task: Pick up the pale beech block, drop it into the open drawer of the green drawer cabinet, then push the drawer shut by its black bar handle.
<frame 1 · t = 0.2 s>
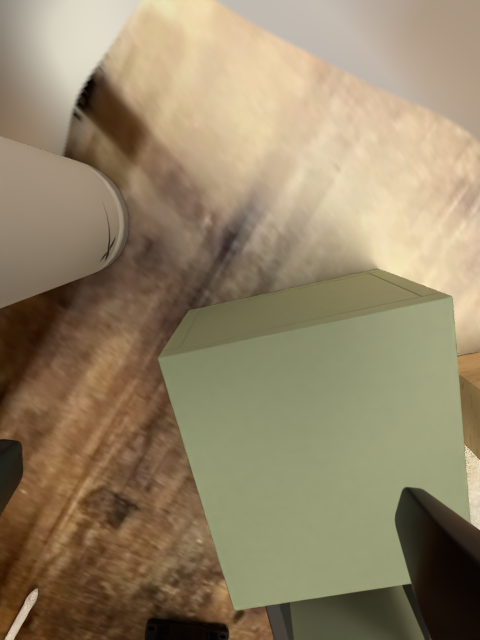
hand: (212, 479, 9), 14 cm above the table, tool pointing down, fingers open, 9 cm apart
travel mug: (80, 218, 21), on the table
green drawer cabinet: (302, 391, 24), on the table
cabinet drawer: (345, 590, 23), point 4 cm above the table, slide at 8.0 cm
beech block: (478, 385, 23), on the table
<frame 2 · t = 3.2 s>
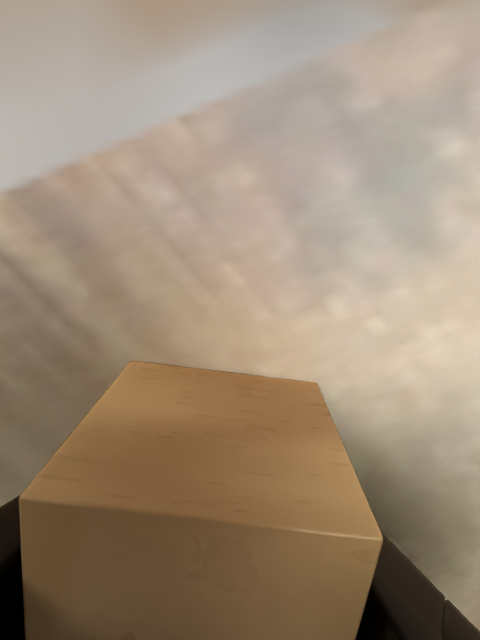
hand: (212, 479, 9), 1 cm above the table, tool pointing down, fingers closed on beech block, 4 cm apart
beech block: (214, 452, 10), on the table, touching gripper
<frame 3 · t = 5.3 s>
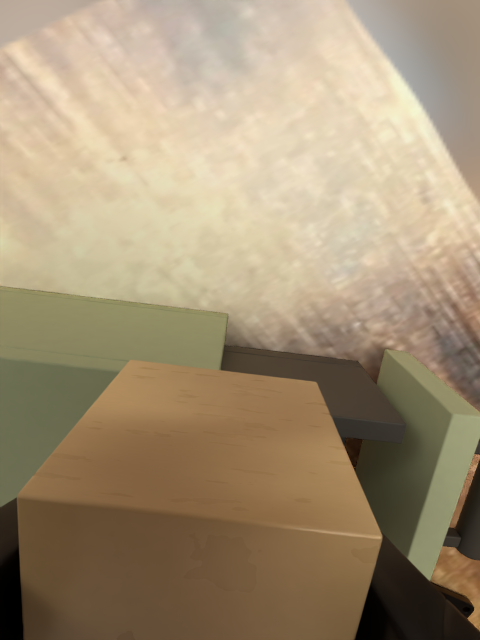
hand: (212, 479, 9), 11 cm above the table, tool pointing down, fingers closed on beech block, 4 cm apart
green drawer cabinet: (94, 398, 20), on the table
cabinet drawer: (319, 471, 17), point 4 cm above the table, slide at 8.0 cm
beech block: (214, 451, 10), point 10 cm above the table, touching gripper
when the fingers open (6 cm above the table, at t = 7.7 s): beech block drops 3 cm, resting on cabinet drawer.
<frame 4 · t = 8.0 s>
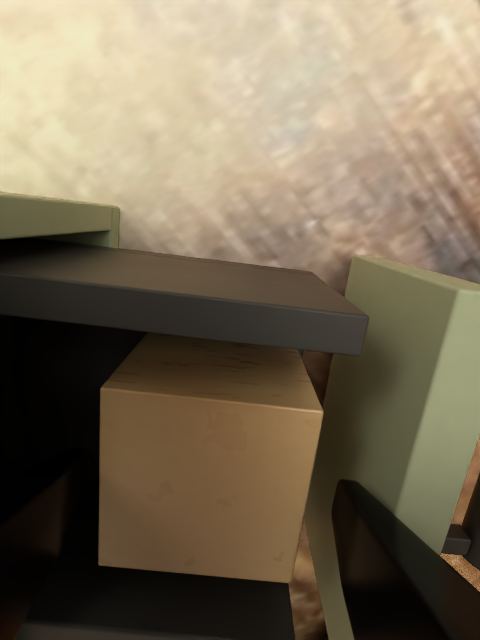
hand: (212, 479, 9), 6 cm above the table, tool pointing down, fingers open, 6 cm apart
cabinet drawer: (244, 433, 11), point 4 cm above the table, slide at 8.1 cm, touching beech block, gripper
beech block: (217, 396, 13), point 2 cm above the table, touching cabinet drawer
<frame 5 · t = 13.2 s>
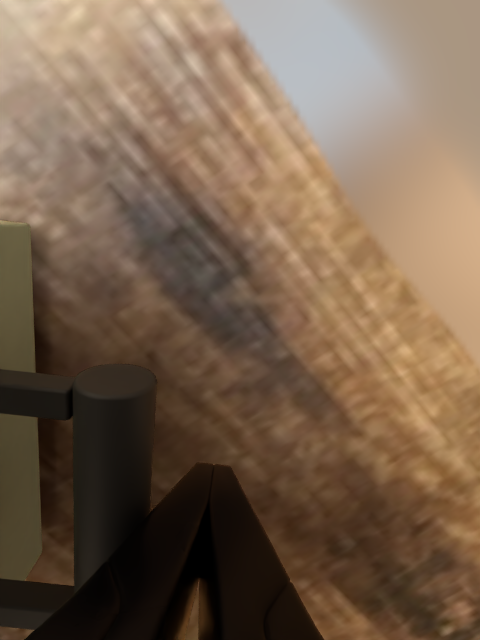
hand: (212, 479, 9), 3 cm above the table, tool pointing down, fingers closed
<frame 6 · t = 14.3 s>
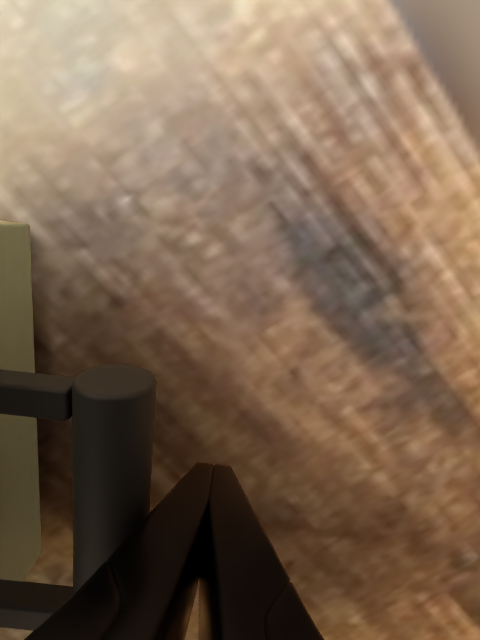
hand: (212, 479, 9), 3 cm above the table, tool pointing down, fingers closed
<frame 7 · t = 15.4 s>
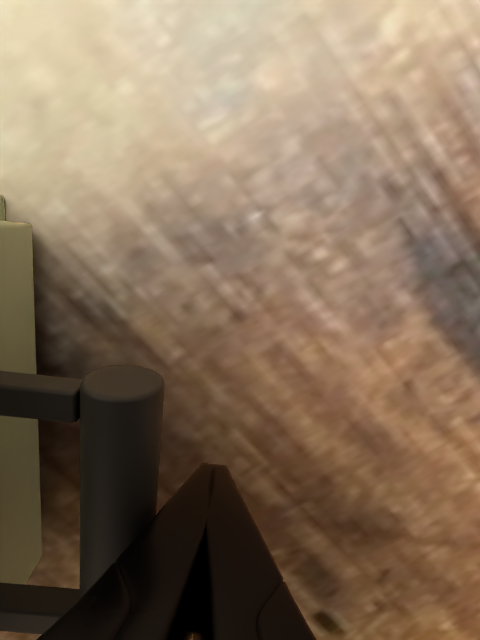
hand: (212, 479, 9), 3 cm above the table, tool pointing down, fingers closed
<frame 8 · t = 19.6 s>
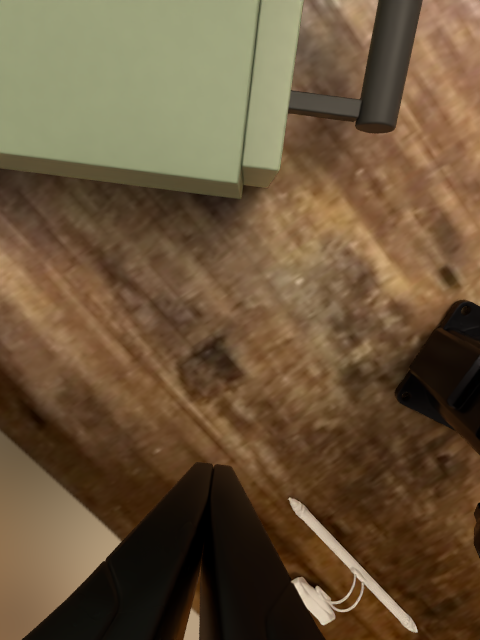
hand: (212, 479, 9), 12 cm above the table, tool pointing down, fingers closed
green drawer cabinet: (109, 47, 17), on the table
cabinet drawer: (175, 9, 13), point 4 cm above the table, slide at 0.0 cm, touching green drawer cabinet, beech block
picture light: (331, 574, 25), on the table
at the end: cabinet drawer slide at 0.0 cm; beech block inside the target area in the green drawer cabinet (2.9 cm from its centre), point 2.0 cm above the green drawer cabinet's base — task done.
